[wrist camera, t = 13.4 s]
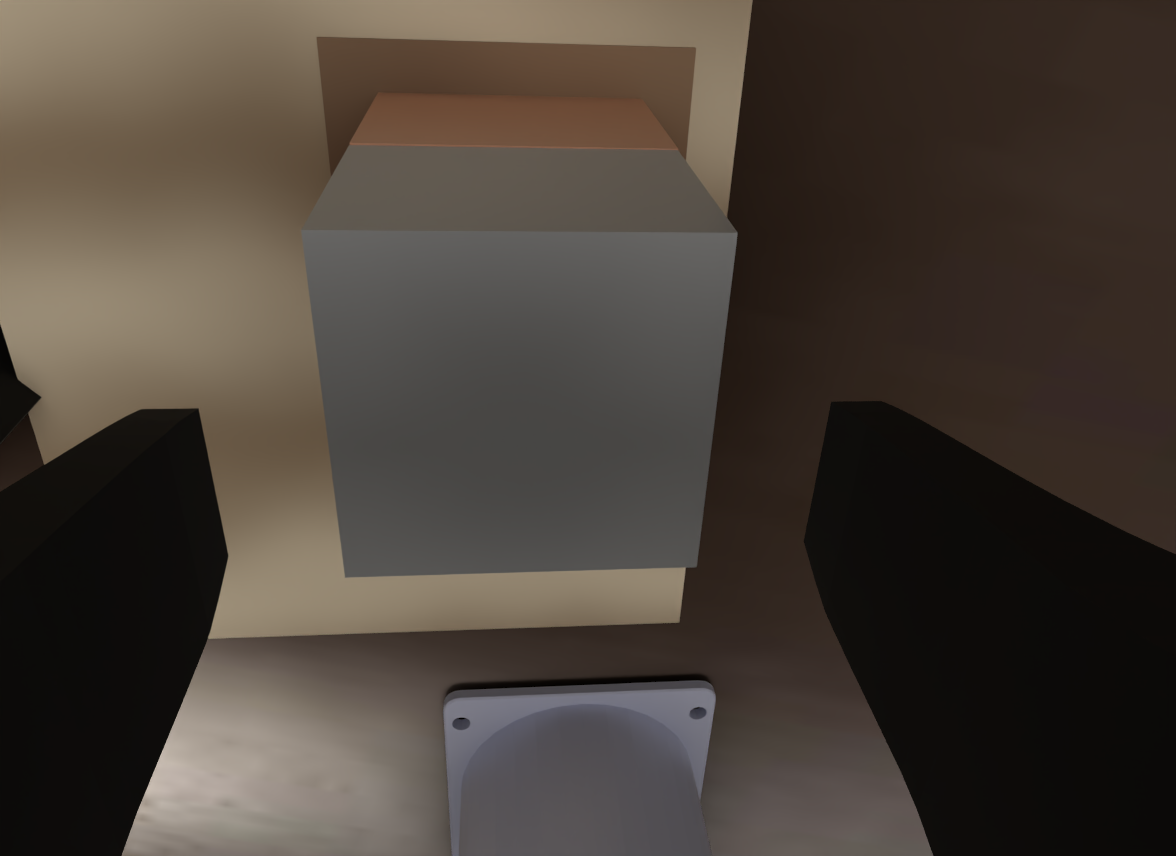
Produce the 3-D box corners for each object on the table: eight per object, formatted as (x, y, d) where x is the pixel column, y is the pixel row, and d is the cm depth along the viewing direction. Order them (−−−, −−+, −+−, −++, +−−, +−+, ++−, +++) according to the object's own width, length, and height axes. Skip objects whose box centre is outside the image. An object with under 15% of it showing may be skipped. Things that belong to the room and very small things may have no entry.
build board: (672, 597, 26) (679, 624, 25) (113, 615, 24) (98, 645, 23) (800, -557, 14) (824, -590, 13) (-264, -659, 12) (-327, -704, 12)
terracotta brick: (626, 335, 20) (653, 426, 17) (396, 336, 20) (375, 430, 16) (641, 98, 18) (678, 148, 14) (378, 92, 17) (348, 142, 14)
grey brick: (654, 428, 17) (696, 567, 13) (376, 431, 16) (344, 577, 13) (677, 150, 14) (736, 233, 11) (349, 145, 14) (301, 230, 10)
